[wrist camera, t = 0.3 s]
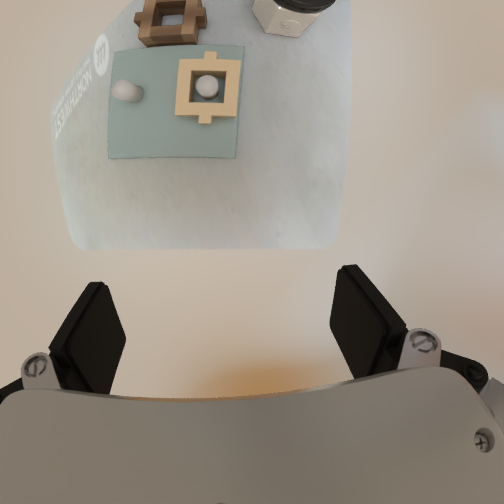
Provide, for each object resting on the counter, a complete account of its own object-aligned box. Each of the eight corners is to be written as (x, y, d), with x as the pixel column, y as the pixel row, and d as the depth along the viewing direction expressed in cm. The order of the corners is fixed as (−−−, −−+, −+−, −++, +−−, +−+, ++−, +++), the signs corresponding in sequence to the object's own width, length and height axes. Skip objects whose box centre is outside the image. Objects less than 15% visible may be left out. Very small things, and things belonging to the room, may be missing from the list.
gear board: (118, 54, 27) (97, 42, 21) (243, 49, 30) (248, 32, 23) (111, 157, 34) (89, 165, 28) (234, 156, 37) (237, 163, 30)
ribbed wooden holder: (147, 9, 25) (139, -4, 20) (209, 5, 26) (207, -9, 21) (141, 48, 28) (130, 39, 23) (203, 44, 29) (201, 33, 24)
